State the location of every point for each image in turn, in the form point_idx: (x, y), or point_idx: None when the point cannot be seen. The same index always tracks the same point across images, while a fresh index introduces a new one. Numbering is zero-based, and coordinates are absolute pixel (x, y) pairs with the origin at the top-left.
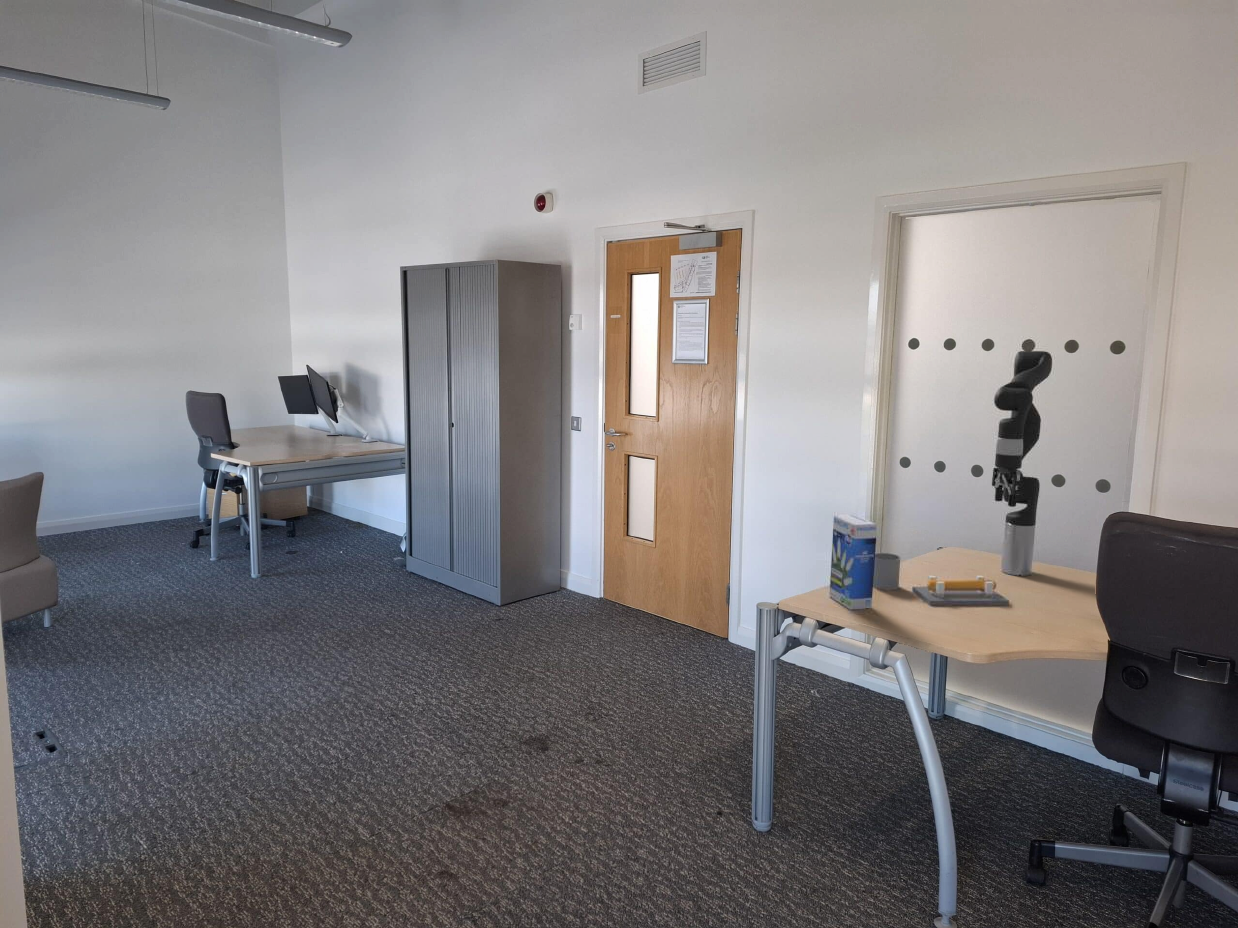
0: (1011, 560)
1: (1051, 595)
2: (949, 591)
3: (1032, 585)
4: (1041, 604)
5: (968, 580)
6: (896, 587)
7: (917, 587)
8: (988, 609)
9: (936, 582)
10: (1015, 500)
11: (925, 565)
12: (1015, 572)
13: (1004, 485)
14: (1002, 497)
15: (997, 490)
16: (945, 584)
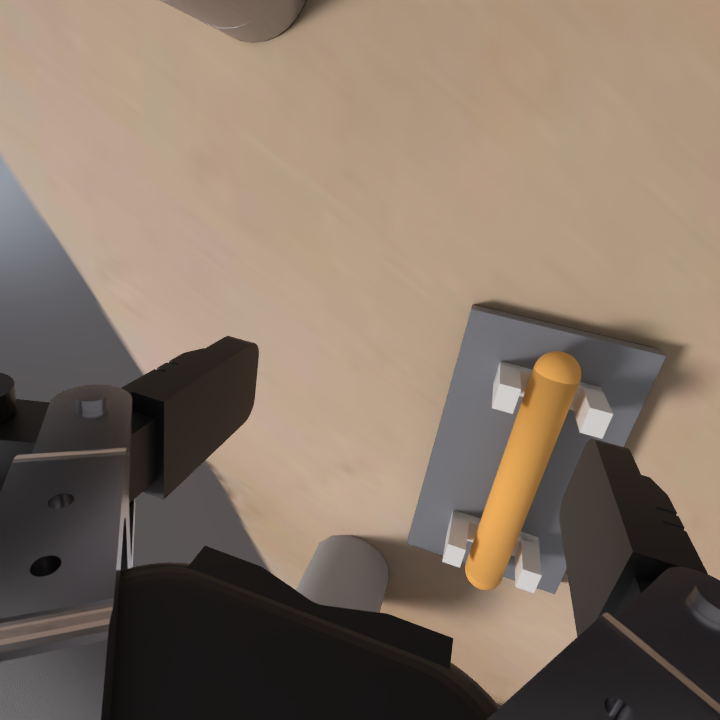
0: (253, 9)
1: (619, 43)
2: (485, 478)
3: (453, 31)
4: (712, 200)
5: (529, 468)
6: (382, 563)
7: (418, 536)
8: (667, 451)
9: (518, 585)
10: (681, 541)
11: (151, 310)
12: (295, 8)
13: (128, 455)
14: (234, 358)
15: (170, 480)
16: (515, 542)
